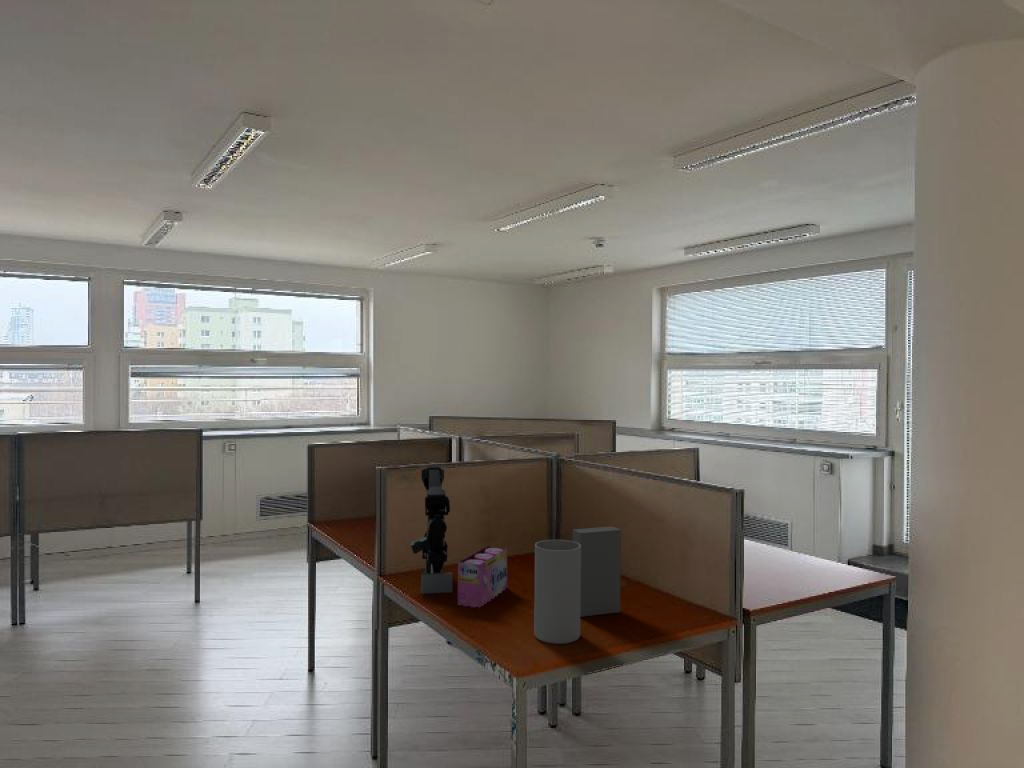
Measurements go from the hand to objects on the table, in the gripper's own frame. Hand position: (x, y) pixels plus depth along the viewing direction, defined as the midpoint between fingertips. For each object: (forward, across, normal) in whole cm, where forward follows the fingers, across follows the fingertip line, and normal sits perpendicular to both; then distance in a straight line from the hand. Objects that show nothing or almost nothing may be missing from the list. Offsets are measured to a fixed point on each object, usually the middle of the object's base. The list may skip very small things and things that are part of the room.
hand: (435, 576), depth 241 cm
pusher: (+3, +3, 0) cm, 5 cm away
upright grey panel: (+3, +34, +46) cm, 57 cm away
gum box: (+3, +14, +14) cm, 21 cm away
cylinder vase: (+3, +52, +30) cm, 60 cm away
